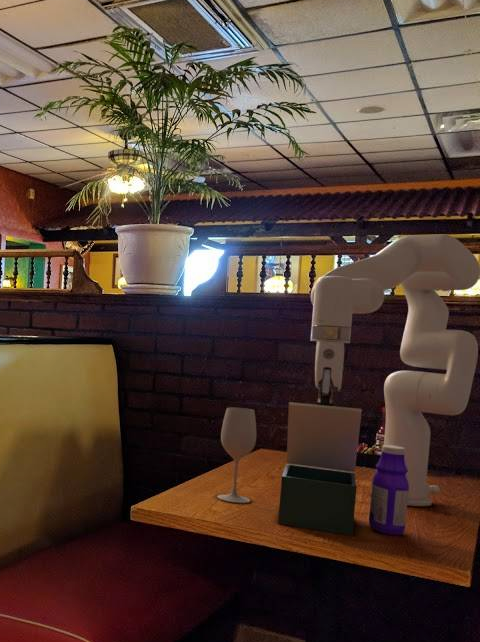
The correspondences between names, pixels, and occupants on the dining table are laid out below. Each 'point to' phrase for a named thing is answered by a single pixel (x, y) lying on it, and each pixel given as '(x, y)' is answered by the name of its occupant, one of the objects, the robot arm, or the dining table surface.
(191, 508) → the dining table surface
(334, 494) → the dark green open box
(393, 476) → the bottle
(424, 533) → the dining table surface
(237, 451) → the wineglass
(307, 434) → the cooler lid
